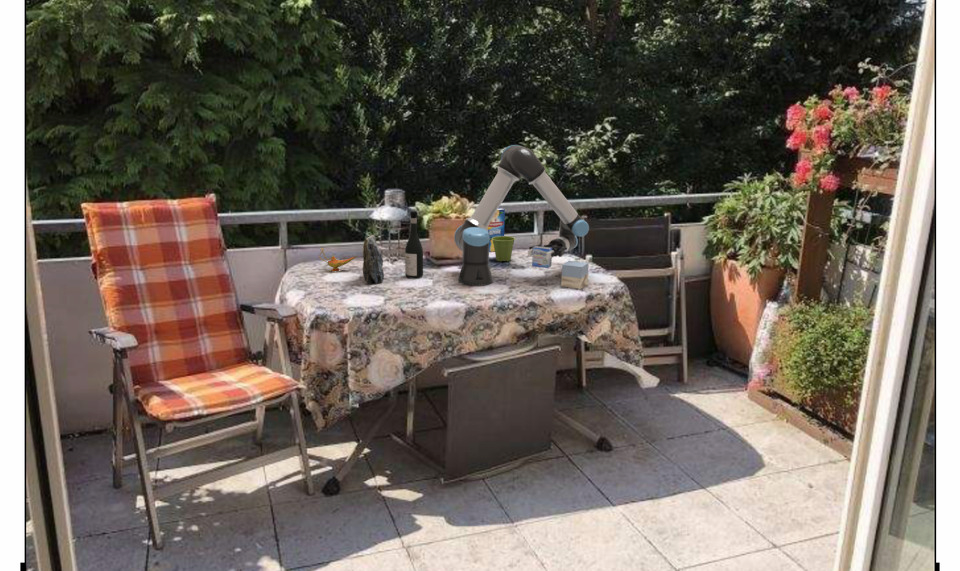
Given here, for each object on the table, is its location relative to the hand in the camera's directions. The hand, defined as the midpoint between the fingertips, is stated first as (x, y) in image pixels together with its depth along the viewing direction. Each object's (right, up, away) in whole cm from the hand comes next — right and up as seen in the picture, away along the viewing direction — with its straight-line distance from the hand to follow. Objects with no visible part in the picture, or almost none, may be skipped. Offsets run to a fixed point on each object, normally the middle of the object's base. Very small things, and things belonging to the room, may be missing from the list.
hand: (537, 254), depth 338 cm
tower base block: (+17, -14, +4) cm, 22 cm away
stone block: (-72, -11, +8) cm, 74 cm away
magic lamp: (-91, -7, +23) cm, 94 cm away
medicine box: (+2, -5, +6) cm, 8 cm away
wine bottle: (-55, -10, +14) cm, 58 cm away
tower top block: (+16, -9, +2) cm, 19 cm away
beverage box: (-19, +5, +71) cm, 74 cm away
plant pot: (-14, -1, +49) cm, 50 cm away
